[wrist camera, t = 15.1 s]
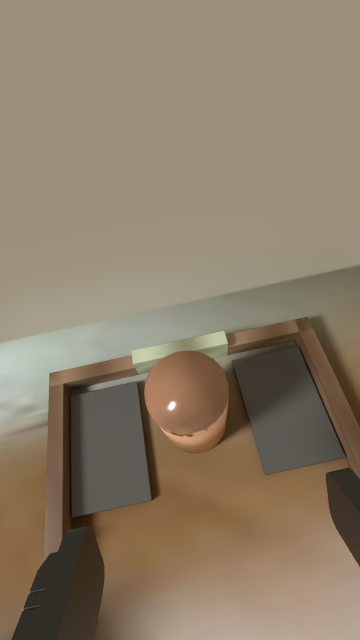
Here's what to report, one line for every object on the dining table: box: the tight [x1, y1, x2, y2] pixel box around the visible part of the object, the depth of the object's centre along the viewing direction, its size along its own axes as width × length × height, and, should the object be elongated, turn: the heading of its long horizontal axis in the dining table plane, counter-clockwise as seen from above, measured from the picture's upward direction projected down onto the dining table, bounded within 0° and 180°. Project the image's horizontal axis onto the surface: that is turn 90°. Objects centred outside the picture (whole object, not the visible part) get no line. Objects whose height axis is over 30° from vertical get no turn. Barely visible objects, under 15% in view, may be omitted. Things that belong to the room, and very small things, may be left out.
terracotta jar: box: [144, 351, 229, 453], centre depth 22 cm, size 5×5×8 cm
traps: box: [71, 346, 345, 518], centre depth 25 cm, size 20×9×1 cm, turn 101°
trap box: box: [44, 317, 360, 561], centre depth 19 cm, size 23×32×2 cm
